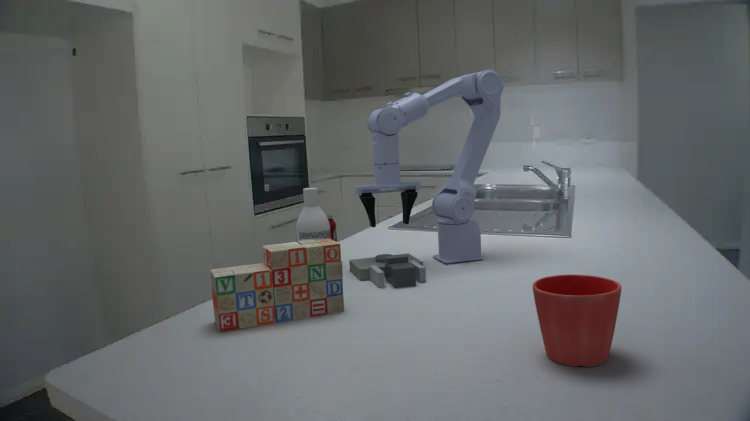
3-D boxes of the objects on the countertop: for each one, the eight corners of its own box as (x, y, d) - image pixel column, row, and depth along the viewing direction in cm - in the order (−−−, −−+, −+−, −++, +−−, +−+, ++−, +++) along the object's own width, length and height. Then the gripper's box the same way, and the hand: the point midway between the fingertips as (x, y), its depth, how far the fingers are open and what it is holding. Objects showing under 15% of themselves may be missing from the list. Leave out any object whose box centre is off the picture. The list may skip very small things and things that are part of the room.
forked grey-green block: (408, 263, 131) (408, 249, 130) (435, 280, 115) (434, 264, 114) (349, 270, 127) (349, 255, 127) (368, 289, 111) (367, 272, 111)
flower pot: (521, 344, 79) (520, 276, 78) (597, 337, 80) (597, 270, 78) (551, 376, 68) (550, 298, 67) (638, 368, 69) (639, 291, 68)
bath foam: (338, 285, 115) (332, 187, 112) (306, 291, 112) (299, 191, 109) (326, 278, 121) (320, 185, 118) (295, 283, 118) (288, 188, 115)
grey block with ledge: (405, 278, 118) (404, 254, 118) (416, 286, 112) (415, 261, 111) (385, 280, 117) (384, 256, 117) (394, 289, 111) (393, 263, 110)
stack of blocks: (218, 333, 90) (211, 258, 89) (214, 322, 96) (207, 251, 94) (345, 311, 98) (341, 242, 96) (334, 302, 104) (329, 236, 102)
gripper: (358, 166, 118) (362, 230, 120) (424, 162, 122) (426, 224, 123) (351, 165, 125) (354, 226, 126) (413, 161, 128) (416, 220, 130)
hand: (389, 225), depth 125 cm, fingers open, 7 cm apart
